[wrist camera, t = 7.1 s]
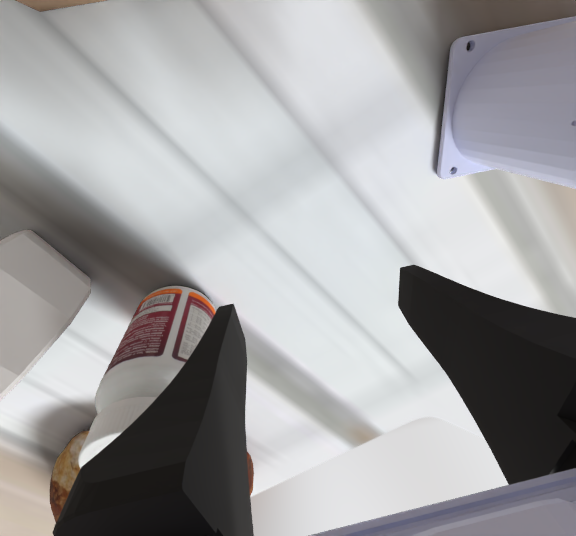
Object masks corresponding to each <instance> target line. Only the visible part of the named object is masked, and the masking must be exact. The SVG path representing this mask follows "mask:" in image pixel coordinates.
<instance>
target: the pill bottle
mask: <svg viewBox="0 0 576 536" xmlns="http://www.w3.org/2000/svg"><path fill="white" fill-rule="evenodd" d="M215 313H216V309H215V307H214V305H213V304H212V302H211V301H210V300H209V299H208V298H207V297H206V296H205V295H203V294H202V293H200V292H199V291H196V290H194V289H191V288H188V287H183V286H168V287H163V288H160V289H157V290H155V291H153V292H151V293H150V294H148V295H147V296H146V297H145V298H144V299H143V300H142V302H141V303H140V305H139V307H138V308H137V310H136V312H135V314H134V316H133V318H132V321H131V322H130V324H129V326H128V329H127V331H126V332H125V335H124V337H123V339H122V340H121V342H120V344H119V347H118V349H117V351H116V353H115V355H114V357H113V359H112V361H111V363H110V364H109V366H108V369H107V371H106V372H105V374H104V376H103V378H102V380H101V382H100V385H99V387H98V390H97V393H96V398H95V407H96V411H97V414H98V415H97V416H96V417H95V419H94V421H93V423H92V426H91V428H90V431H89V433H88V435H87V438H86V440H85V442H84V444H83V446H82V448H81V451H80V454H79V458H78V462H79V467H80V469H81V467H82V466H83V465H85V464H86V463H87V462H88V461H90V460H91V459H92V458H93V457H94V456H95V455H97V454H98V453H99V452H100V451H101V450H103V449H104V448H105V447H106V446H107V445H108V444H110V443H111V442H112V441H113V440H114V439H116V438H117V437H118V436H119V435H120V434H121V433H122V432H123V431H124V430H125V429H126V428H128V427H129V426H130V425H131V424H132V423H133V422H134V421H135V420H136V419H137V418H138V417H139V416H140V415H141V414H142V413H143V412H144V411H145V410H146V409H147V408H148V407H149V406H150V405H151V404H152V403H153V402H154V400H155V399H156V398H157V397H158V396H159V395H160V394H161V393H162V392H163V391H164V389H165V388H166V387H167V386H168V385H169V384H170V383H171V381H172V380H173V379H174V378H175V376H176V375H177V374H178V372H179V371H180V370H181V368H182V367H183V366H184V364H185V363H186V361H187V360H188V358H189V357H190V355H191V354H192V352H193V351H194V349H195V348H196V346H197V345H198V343H199V341H200V340H201V338H202V336H203V335H204V333H205V331H206V329H207V328H208V326H209V324H210V322H211V320H212V318H213V317H214V315H215Z"/></svg>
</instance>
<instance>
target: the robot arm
mask: <svg viewBox="0 0 576 536" xmlns="http://www.w3.org/2000/svg"><path fill="white" fill-rule="evenodd" d="M468 42H469V43H470V49H469V50H468V51H467V50H466V46H467V43H468ZM452 167H453V168H454V169H453V171H452V172H451V173H450V170H451V168H452ZM493 169H499V170H503V171H507V172H511V173H515V174H519V175H523V176H527V177H531V178H535V179H539V180H543V181H547V182H551V183H555V184H559V185H562V186H566V187H570V188H574V189H576V16H574V17H568V18H563V19H557V20H552V21H546V22H541V23H535V24H530V25H524V26H519V27H513V28H508V29H502V30H497V31H491V32H486V33H480V34H475V35H469V36H464V37H460V38H458V39H456V40H455V41H454V42H453V44H452V45H451V49H450V57H449V66H448V75H447V84H446V94H445V103H444V112H443V121H442V131H441V140H440V149H439V158H438V167H437V176H438V177H439V178H441V179H448V178H453V177H458V176H463V175H468V174H473V173H478V172H483V171H488V170H493ZM398 306H399V308H400V309H401V311H402V313H403V315H404V317H405V318H406V320H407V322H408V324H409V325H410V326H411V328H412V329H413V330H414V332H415V333H416V334H417V336H418V337H419V338H420V340H421V341H422V342H423V344H424V345H425V346H426V347H427V349H428V350H429V351H430V353H431V354H432V355H433V356H434V358H435V359H436V360H437V362H438V363H439V364H440V366H441V367H442V368H443V370H444V371H445V372H446V374H447V375H448V377H449V378H450V380H451V382H452V383H453V385H454V386H455V388H456V390H457V391H458V393H459V394H460V396H461V398H462V399H463V401H464V403H465V404H466V406H467V408H468V410H469V411H470V413H471V415H472V416H473V418H474V420H475V421H476V423H477V425H478V427H479V429H480V431H481V432H482V434H483V436H484V438H485V440H486V441H487V443H488V445H489V447H490V449H491V450H492V453H493V455H494V456H495V458H496V460H497V462H498V464H499V466H500V468H501V470H502V472H503V474H504V476H505V478H506V480H507V482H508V484H509V485H507V486H503V487H499V488H495V489H491V490H487V491H483V492H479V493H475V494H471V495H468V496H463V497H459V498H455V499H452V500H448V501H444V502H440V503H436V504H432V505H428V506H424V507H420V508H416V509H412V510H408V511H404V512H400V513H396V514H392V515H388V516H384V517H380V518H376V519H372V520H369V521H364V522H361V523H357V524H353V525H349V526H345V527H341V528H337V529H333V530H329V531H325V532H321V533H318V534H313V535H309V536H576V318H573V317H568V316H563V315H558V314H554V313H550V312H546V311H541V310H537V309H533V308H530V307H526V306H522V305H519V304H516V303H512V302H509V301H506V300H502V299H499V298H496V297H493V296H490V295H488V294H485V293H482V292H480V291H477V290H474V289H472V288H469V287H467V286H464V285H462V284H459V283H457V282H454V281H452V280H450V279H447V278H445V277H443V276H440V275H438V274H436V273H433V272H431V271H429V270H426V269H424V268H421V267H419V266H416V265H411V266H406V267H401V268H400V281H399V301H398ZM246 375H247V355H246V343H245V337H244V334H243V331H242V328H241V325H240V322H239V319H238V316H237V313H236V310H235V307H234V304H230V305H225V306H221V307H219V308H218V309H217V311H216V313H215V315H214V317H213V318H212V320H211V322H210V324H209V326H208V328H207V329H206V331H205V333H204V335H203V336H202V338H201V340H200V341H199V343H198V345H197V346H196V348H195V349H194V351H193V352H192V354H191V355H190V357H189V358H188V360H187V361H186V363H185V364H184V366H183V367H182V368H181V370H180V371H179V372H178V374H177V375H176V376H175V378H174V379H173V380H172V381H171V383H170V384H169V385H168V386H167V387H166V388H165V389H164V391H163V392H162V393H161V394H160V395H159V396H158V397H157V398H156V399H155V400H154V402H153V403H152V404H151V405H150V406H149V407H148V408H147V409H146V410H145V411H144V412H143V413H142V414H141V415H140V416H139V417H138V418H137V419H136V420H135V421H134V422H133V423H132V424H131V425H130V426H129V427H128V428H126V429H125V430H124V431H123V432H122V433H121V434H120V435H119V436H118V437H117V438H116V439H114V440H113V441H112V442H111V443H110V444H108V445H107V446H106V447H105V448H104V449H103V450H101V451H100V452H99V453H98V454H97V455H95V456H94V457H93V458H92V459H91V460H90V461H88V462H87V463H86V464H85V465H83V466H82V467H81V469H80V471H79V473H78V475H77V477H76V479H75V481H74V483H73V486H72V488H71V490H70V492H69V495H68V497H67V499H66V502H65V504H64V506H63V509H62V511H61V513H60V516H59V518H58V520H57V522H56V525H55V527H54V530H53V535H54V536H253V524H252V514H251V502H250V490H249V478H248V464H247V449H246V432H245V400H246Z"/></svg>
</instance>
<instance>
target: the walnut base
mask: <svg viewBox="0 0 576 536" xmlns="http://www.w3.org/2000/svg"><path fill="white" fill-rule="evenodd" d="M16 1H18V2H20V3H22V4H24V5H27V6H29V7H31V8H33V9H35V10H38V11H40V12H41V11H47V10H53V9H59V8H65V7H70V6H76V5H82V4H88V3H94V2H100V1H106V0H16Z"/></svg>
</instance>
